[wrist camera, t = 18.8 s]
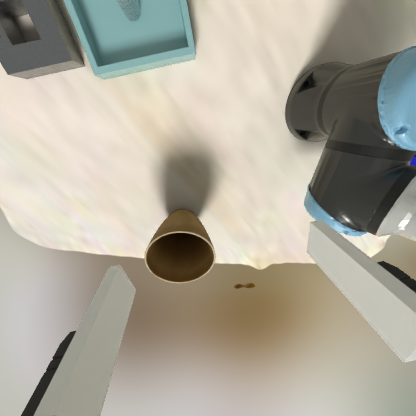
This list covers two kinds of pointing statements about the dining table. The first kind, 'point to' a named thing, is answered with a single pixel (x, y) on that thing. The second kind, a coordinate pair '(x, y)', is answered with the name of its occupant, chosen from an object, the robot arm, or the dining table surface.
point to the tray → (132, 35)
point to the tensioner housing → (39, 49)
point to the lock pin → (130, 9)
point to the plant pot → (180, 249)
